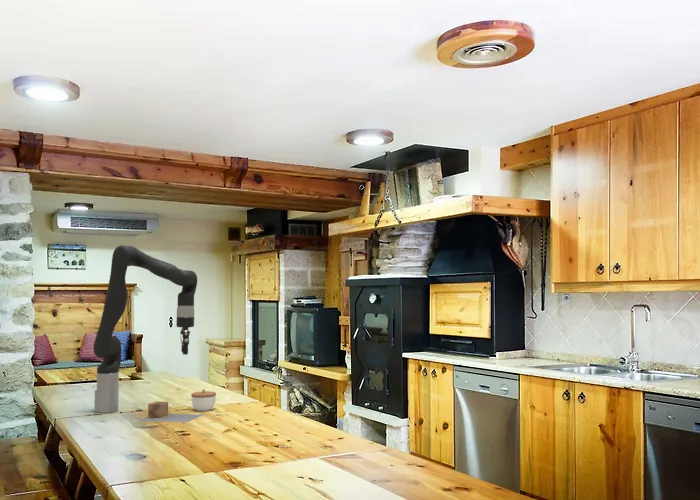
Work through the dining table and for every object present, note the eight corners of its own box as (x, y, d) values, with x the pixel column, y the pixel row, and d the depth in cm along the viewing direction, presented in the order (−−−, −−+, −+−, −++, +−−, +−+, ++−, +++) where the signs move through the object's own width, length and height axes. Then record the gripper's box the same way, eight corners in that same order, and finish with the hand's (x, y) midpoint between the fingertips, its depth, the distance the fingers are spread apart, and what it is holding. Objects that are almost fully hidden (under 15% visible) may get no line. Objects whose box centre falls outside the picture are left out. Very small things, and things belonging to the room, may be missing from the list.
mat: (137, 421, 269) (137, 420, 269) (156, 414, 285) (156, 413, 285) (187, 423, 265) (187, 422, 265) (203, 415, 281) (203, 414, 281)
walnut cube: (148, 418, 274) (148, 403, 274) (155, 415, 280) (155, 401, 280) (161, 418, 273) (161, 404, 273) (168, 416, 279) (168, 401, 279)
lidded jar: (218, 408, 297) (218, 387, 298) (211, 413, 287) (211, 391, 287) (195, 408, 298) (196, 387, 299) (187, 412, 288) (187, 391, 288)
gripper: (175, 315, 292) (174, 351, 291) (177, 316, 278) (176, 355, 277) (193, 315, 294) (192, 351, 293) (195, 316, 281) (194, 354, 280)
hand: (184, 353), depth 285 cm, fingers open, 8 cm apart
